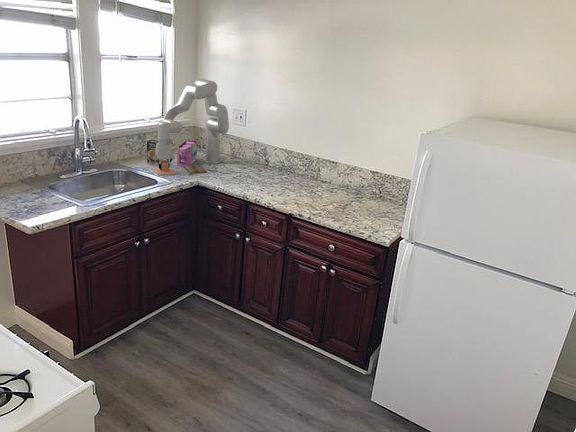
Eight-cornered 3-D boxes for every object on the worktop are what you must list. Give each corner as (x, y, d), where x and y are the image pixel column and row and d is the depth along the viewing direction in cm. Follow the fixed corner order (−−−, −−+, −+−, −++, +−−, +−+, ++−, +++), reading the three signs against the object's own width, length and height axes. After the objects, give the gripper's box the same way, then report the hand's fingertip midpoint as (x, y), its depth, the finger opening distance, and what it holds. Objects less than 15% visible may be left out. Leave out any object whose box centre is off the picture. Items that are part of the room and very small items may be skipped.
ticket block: (199, 167, 321) (199, 164, 320) (206, 173, 309) (206, 170, 309) (183, 167, 315) (184, 165, 315) (190, 174, 304) (190, 171, 304)
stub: (169, 168, 311) (169, 157, 308) (175, 174, 299) (175, 163, 297) (152, 169, 305) (152, 158, 303) (158, 175, 294) (158, 164, 292)
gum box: (187, 168, 315) (187, 149, 310) (176, 167, 316) (176, 147, 311) (196, 159, 337) (197, 141, 332) (186, 158, 338) (186, 140, 333)
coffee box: (146, 164, 315) (146, 141, 309) (151, 162, 321) (151, 139, 315) (158, 166, 313) (158, 143, 307) (163, 164, 319) (163, 141, 313)
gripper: (175, 139, 302) (175, 166, 309) (149, 140, 294) (149, 168, 301) (178, 142, 296) (178, 170, 303) (151, 143, 288) (152, 171, 295)
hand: (164, 168), depth 302 cm, fingers closed on stub, 4 cm apart
